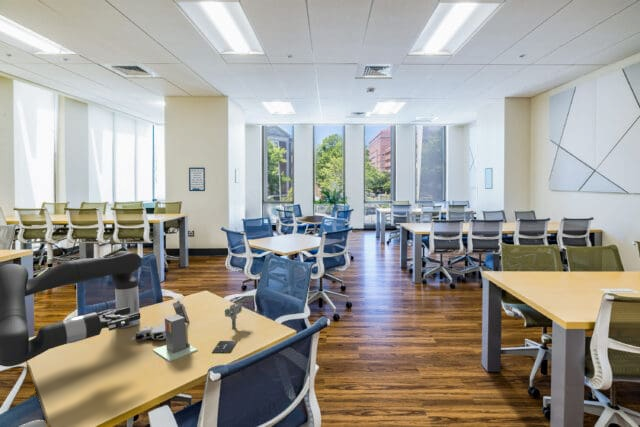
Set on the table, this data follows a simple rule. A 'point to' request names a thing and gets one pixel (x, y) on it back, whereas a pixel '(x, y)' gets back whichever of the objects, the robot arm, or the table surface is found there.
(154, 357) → the table surface
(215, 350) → the solid state drive
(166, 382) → the table surface
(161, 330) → the robot toy
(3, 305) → the robot arm
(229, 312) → the mechanical component
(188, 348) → the board
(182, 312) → the electrical switch
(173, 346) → the plug block
